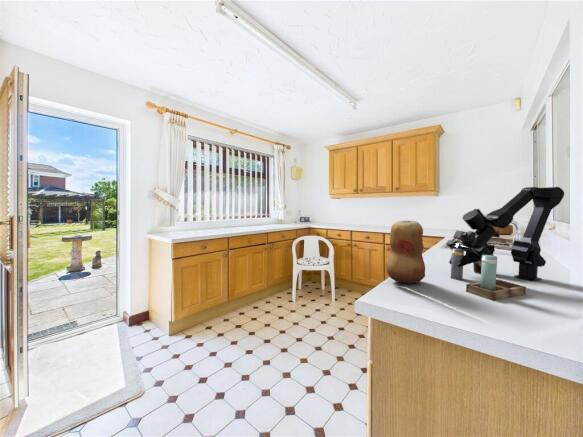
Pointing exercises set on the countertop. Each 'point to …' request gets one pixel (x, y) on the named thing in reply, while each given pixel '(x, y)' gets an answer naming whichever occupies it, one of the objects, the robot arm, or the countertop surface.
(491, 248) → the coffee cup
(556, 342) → the countertop surface
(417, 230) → the butternut squash
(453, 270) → the plug charcoal
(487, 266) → the plug teal
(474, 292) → the slot rack
